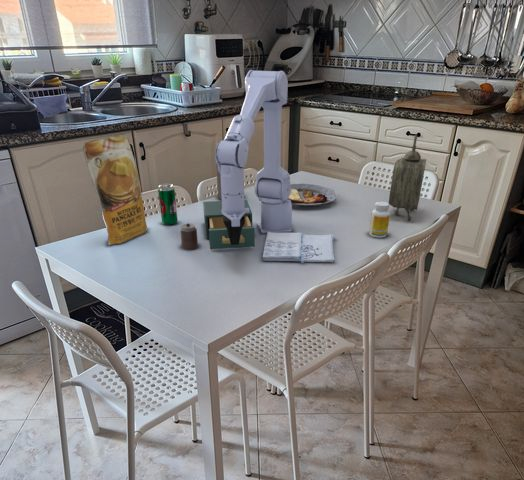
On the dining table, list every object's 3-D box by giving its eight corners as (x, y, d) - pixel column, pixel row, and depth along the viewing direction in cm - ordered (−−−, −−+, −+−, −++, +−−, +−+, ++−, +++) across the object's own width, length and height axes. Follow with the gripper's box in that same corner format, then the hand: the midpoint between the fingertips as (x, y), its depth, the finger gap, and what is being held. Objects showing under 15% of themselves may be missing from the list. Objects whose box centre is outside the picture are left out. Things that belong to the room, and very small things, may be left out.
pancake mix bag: (94, 244, 141) (73, 142, 126) (139, 225, 155) (125, 130, 139) (111, 249, 138) (91, 145, 123) (155, 229, 152) (143, 132, 136)
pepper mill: (188, 242, 142) (186, 219, 138) (201, 245, 140) (199, 222, 137) (178, 247, 139) (176, 224, 135) (191, 250, 137) (189, 227, 133)
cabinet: (252, 236, 146) (252, 213, 142) (206, 239, 145) (204, 215, 141) (247, 221, 157) (246, 199, 153) (204, 223, 156) (203, 201, 152)
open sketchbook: (267, 236, 146) (267, 229, 145) (334, 238, 145) (335, 231, 143) (261, 262, 131) (261, 254, 129) (336, 265, 129) (336, 257, 128)
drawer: (256, 252, 134) (256, 233, 131) (211, 254, 133) (209, 235, 130) (249, 231, 148) (249, 213, 144) (208, 233, 146) (206, 215, 143)
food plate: (339, 211, 166) (340, 200, 164) (271, 210, 166) (271, 200, 164) (331, 190, 187) (332, 180, 185) (271, 190, 187) (271, 180, 185)
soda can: (174, 226, 154) (170, 188, 147) (159, 225, 155) (154, 187, 148) (180, 221, 158) (176, 183, 151) (165, 220, 159) (161, 182, 152)
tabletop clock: (414, 224, 155) (428, 140, 141) (385, 221, 158) (397, 139, 144) (417, 210, 166) (431, 132, 152) (390, 207, 169) (401, 130, 155)
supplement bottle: (365, 233, 149) (369, 201, 143) (380, 230, 150) (385, 199, 145) (374, 239, 144) (379, 207, 139) (390, 236, 146) (395, 205, 141)
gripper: (251, 200, 115) (252, 253, 123) (245, 183, 127) (246, 233, 135) (222, 201, 114) (224, 255, 122) (219, 184, 126) (221, 234, 134)
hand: (234, 243), depth 128 cm, fingers closed
